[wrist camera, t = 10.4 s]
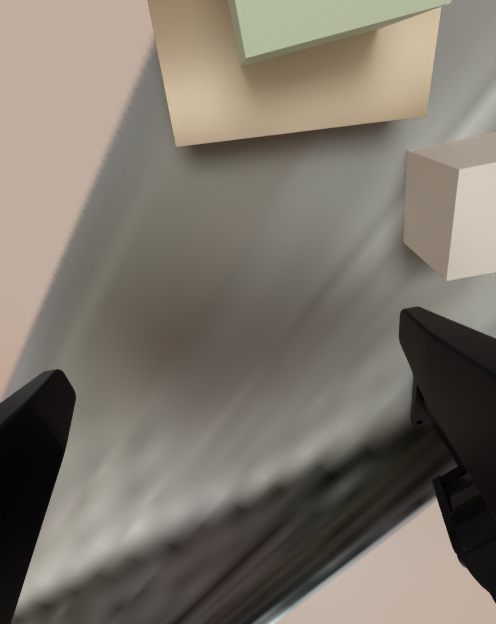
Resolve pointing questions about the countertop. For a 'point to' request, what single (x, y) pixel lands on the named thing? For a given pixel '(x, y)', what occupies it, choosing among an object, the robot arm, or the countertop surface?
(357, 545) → the countertop surface
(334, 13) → the sage cube
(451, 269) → the white cube
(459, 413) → the robot arm
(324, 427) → the countertop surface
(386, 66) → the birch block
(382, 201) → the countertop surface
